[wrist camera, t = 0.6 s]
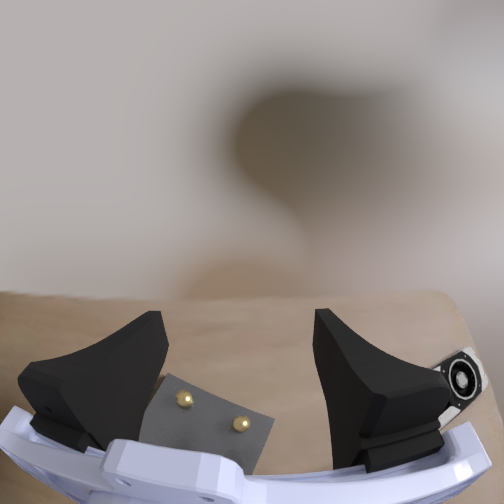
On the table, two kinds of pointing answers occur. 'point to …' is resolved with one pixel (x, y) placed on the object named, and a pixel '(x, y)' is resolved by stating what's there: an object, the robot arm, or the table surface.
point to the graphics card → (461, 382)
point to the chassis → (204, 424)
